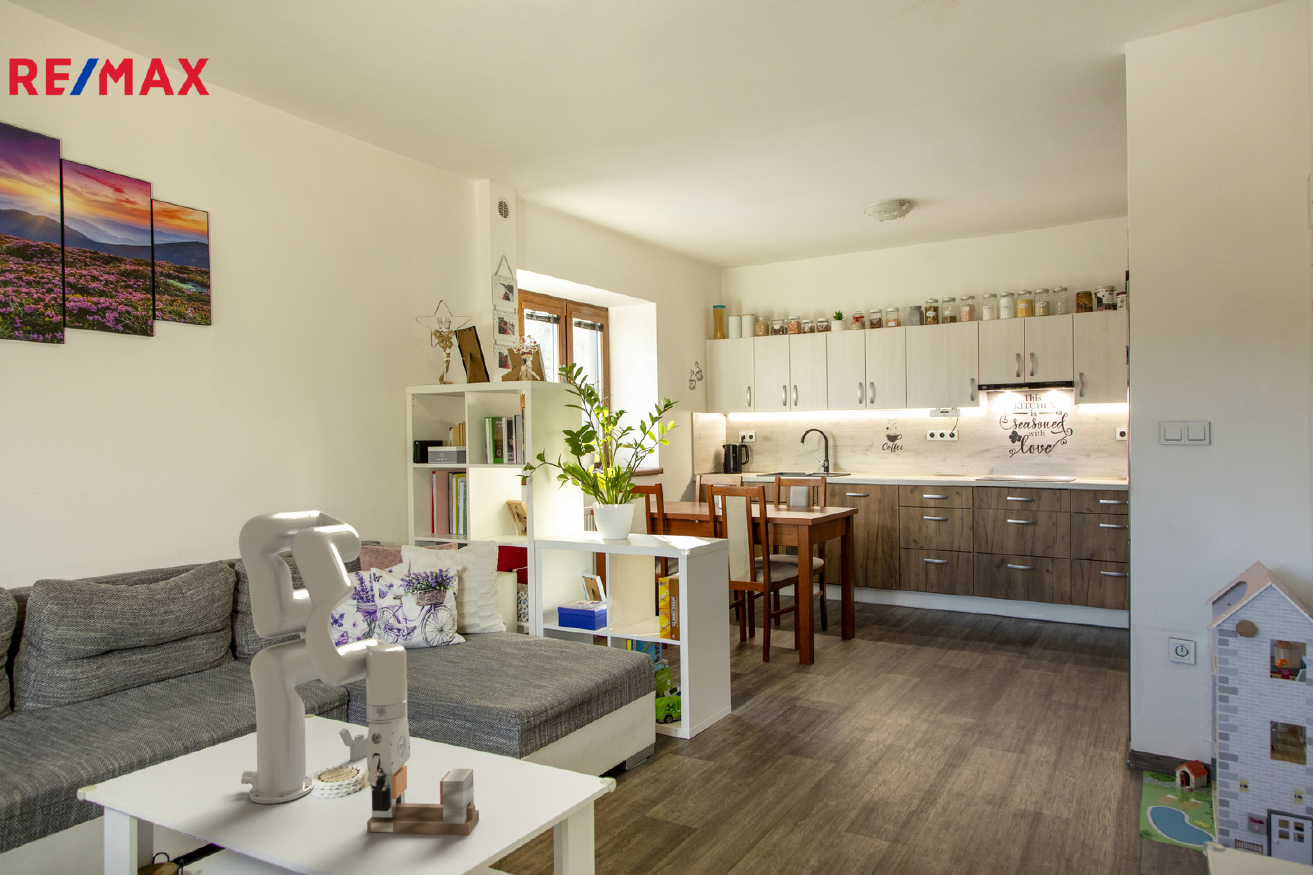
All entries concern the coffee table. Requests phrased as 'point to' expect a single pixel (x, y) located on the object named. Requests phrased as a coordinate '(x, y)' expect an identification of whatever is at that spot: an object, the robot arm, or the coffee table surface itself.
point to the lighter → (355, 744)
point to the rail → (436, 810)
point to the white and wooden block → (394, 791)
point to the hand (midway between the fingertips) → (388, 801)
